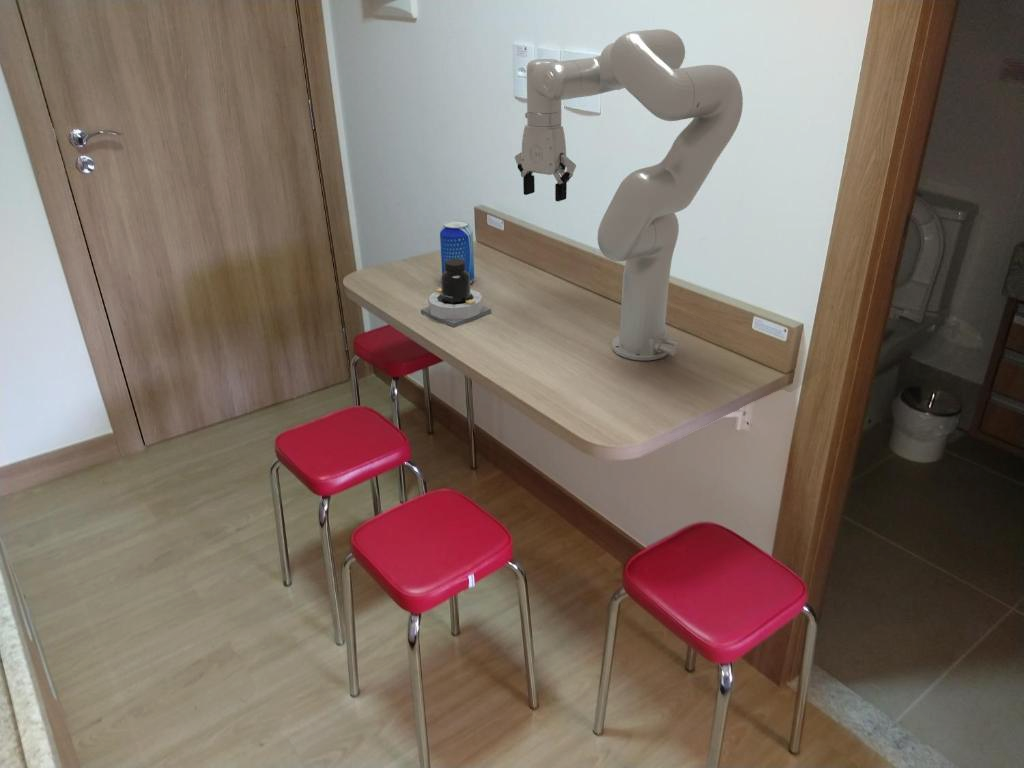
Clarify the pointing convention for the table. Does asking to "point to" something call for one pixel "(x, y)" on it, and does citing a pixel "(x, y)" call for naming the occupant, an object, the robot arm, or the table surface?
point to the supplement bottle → (455, 282)
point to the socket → (455, 309)
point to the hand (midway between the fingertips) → (544, 196)
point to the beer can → (457, 244)
